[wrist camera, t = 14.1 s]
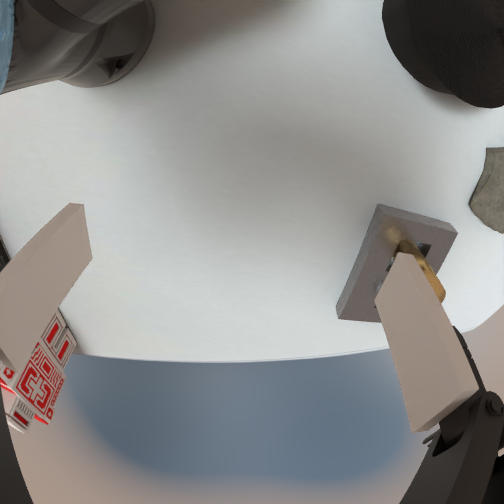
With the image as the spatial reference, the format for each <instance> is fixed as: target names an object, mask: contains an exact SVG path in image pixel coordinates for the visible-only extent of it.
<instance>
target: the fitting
mask: <svg viewBox="0 0 504 504" xmlns="http://www.w3.org/2000/svg"><path fill="white" fill-rule="evenodd" d="M398 252H401V253H406V254H412V255H413V256H414V258H415V259H416V261H417V262H418V264H419V266H420V267H421V269H422V271H423V273H424V274H425V276H426V278H427V279H428V281H429V283H430V285H431V287H432V288H433V290H434V292H435V294H436V296H437V297H438V299H439V301H440V303H442V302H443V300H444V298H445V295H446V292H445V289H444V288H443V286H442V284H441V283H440V281H439V279H438V278H437V276H436V274H435V273H434V271H433V269H432V268H431V266H430V265H429V263H428V262H427V260H426V258H425V257H424V255H423V254H422V252H421V251H420V249H419V248H418V246H417V245H416V243H415V242H414V241H412V240H407V239H403V238H401V239H400V241H399V243H398V246H397V248H396V250H395V252H394V254H393V256H392V258H393V260H394V261H395V258H396V256H397V254H398Z"/></svg>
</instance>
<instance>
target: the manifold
mask: <svg viewBox="0 0 504 504" xmlns="http://www.w3.org/2000/svg"><path fill="white" fill-rule="evenodd" d="M457 234H458V232H457V231H456V230H455V229H454V228H453V227H452V226H451V224H450V223H447V222H444V221H440V220H437V219H433V218H430V217H426V216H422V215H419V214H415V213H411V212H407V211H403V210H399V209H395V208H391V207H387V206H383V205H379V204H377V207H376V210H375V213H374V215H373V218H372V221H371V223H370V226H369V229H368V231H367V234H366V237H365V239H364V242H363V244H362V247H361V249H360V252H359V254H358V257H357V259H356V261H355V264H354V266H353V269H352V271H351V273H350V276H349V278H348V280H347V283H346V285H345V287H344V289H343V292H342V294H341V296H340V298H339V300H338V303H337V305H336V310H337V315H338V319H343V320H354V321H366V322H379V323H382V322H381V319H380V316H379V313H378V310H377V307H376V304H375V301H374V300H375V298H376V296H377V294H378V292H379V291H380V289H381V287H382V285H383V283H384V281H385V279H386V277H387V275H388V273H389V271H390V269H391V267H392V265H393V263H394V262H391V259H392V256H393V254H394V252H395V250H396V248H397V246H398V243H399V241H400V239H401V238H403V239H407V240H412V241H417V242H421V243H420V245H419V247H418V248H419V249H420V251H421V252H422V254H423V255H424V257H425V258H426V260H427V262H428V263H429V265H430V266H431V268H432V269H433V271H434V273H435V274H437V273H438V271H439V269H440V267H441V265H442V263H443V262H444V260H445V258H446V256H447V254H448V252H449V250H450V248H451V246H452V244H453V242H454V240H455V238H456V236H457Z"/></svg>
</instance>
